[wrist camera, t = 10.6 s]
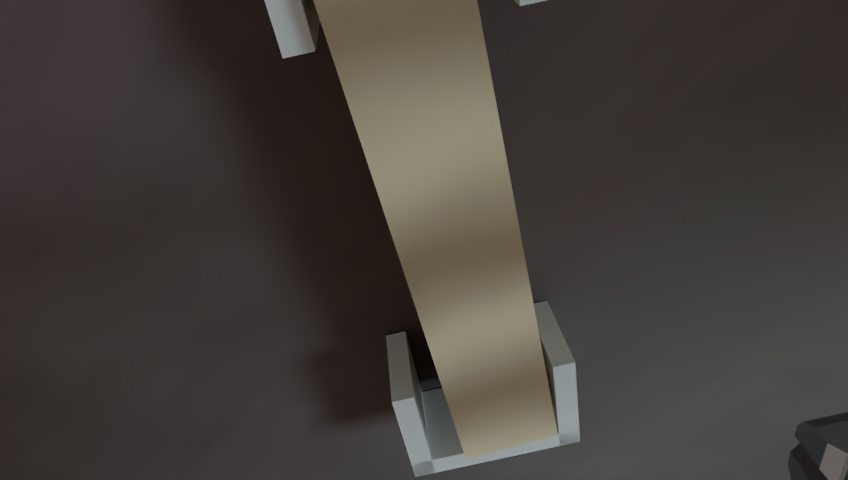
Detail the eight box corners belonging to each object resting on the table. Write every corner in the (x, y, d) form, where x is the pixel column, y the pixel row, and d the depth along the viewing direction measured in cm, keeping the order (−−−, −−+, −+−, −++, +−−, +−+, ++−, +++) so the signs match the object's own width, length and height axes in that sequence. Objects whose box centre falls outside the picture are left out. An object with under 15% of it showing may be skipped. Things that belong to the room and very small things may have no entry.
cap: (385, 335, 24) (391, 402, 21) (546, 300, 24) (575, 362, 21) (407, 408, 26) (415, 476, 23) (553, 376, 26) (580, 441, 23)
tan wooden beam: (302, -88, 16) (289, -71, 12) (428, -125, 16) (455, -120, 12) (448, 370, 26) (465, 458, 22) (526, 350, 26) (557, 435, 22)
